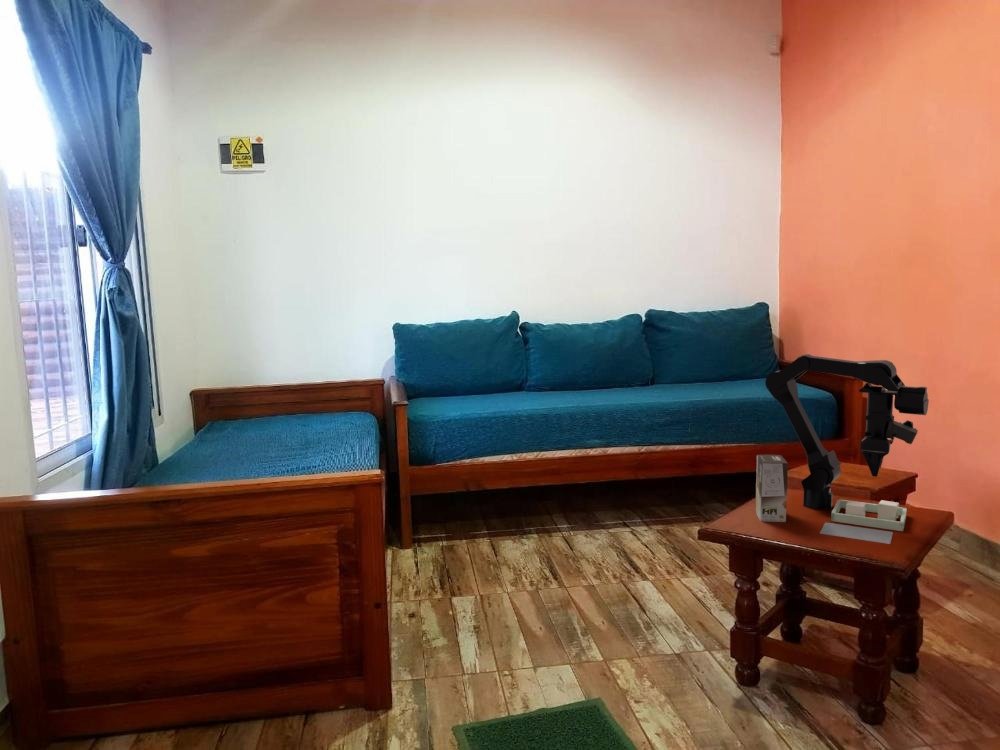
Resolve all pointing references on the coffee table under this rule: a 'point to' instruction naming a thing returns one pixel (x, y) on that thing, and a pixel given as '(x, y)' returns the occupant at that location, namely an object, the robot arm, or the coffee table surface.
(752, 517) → the coffee table surface
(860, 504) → the white cube
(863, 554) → the coffee table surface
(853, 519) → the green bin
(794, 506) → the coffee table surface
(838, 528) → the slate slab
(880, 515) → the light grey cube
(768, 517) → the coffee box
